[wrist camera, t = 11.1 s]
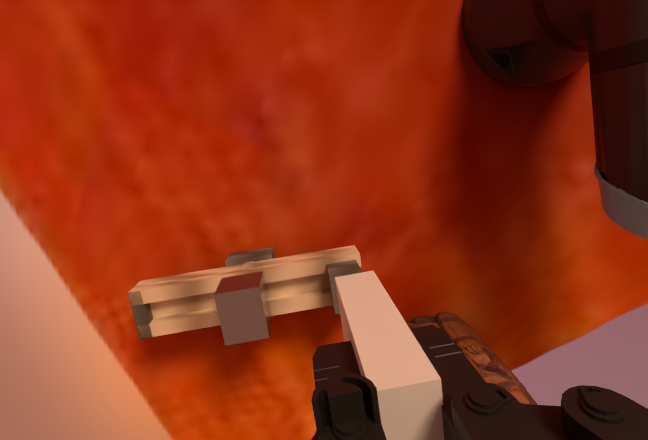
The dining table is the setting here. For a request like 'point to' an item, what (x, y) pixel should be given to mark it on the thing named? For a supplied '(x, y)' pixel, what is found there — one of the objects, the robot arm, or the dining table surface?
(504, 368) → the wooden figurine
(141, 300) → the beam
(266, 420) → the dining table surface
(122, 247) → the dining table surface
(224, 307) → the block
